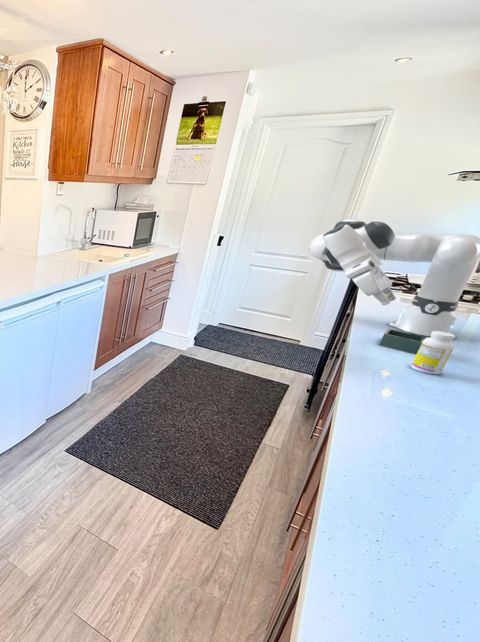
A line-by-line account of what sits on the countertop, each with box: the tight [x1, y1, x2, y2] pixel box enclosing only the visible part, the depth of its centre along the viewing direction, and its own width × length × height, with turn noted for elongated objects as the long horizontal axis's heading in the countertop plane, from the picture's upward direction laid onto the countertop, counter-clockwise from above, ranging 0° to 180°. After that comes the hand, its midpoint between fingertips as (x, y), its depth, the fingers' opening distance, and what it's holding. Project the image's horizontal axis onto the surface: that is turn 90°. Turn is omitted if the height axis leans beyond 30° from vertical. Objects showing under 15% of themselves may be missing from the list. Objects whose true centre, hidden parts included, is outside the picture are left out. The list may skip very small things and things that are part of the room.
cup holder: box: [378, 328, 427, 355], centre depth 148 cm, size 10×10×4 cm
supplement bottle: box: [410, 331, 455, 375], centre depth 127 cm, size 7×7×13 cm
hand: (390, 302), depth 132 cm, fingers open, 8 cm apart
